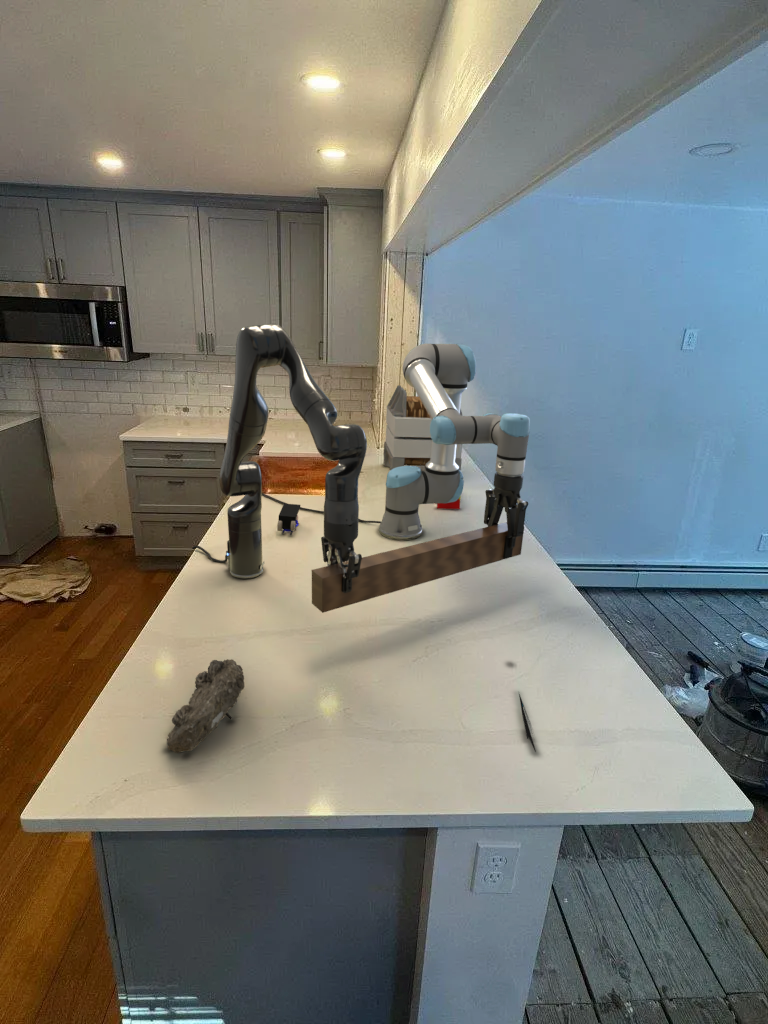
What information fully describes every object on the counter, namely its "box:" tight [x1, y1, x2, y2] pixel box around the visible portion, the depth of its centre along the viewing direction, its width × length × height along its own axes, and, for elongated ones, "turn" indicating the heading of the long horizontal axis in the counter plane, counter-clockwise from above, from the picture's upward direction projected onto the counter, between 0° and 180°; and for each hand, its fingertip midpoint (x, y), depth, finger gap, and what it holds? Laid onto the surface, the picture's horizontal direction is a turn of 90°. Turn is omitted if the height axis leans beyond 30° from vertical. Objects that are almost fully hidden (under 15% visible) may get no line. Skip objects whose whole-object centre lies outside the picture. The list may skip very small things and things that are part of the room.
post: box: [311, 521, 525, 613], centre depth 143 cm, size 64×5×8 cm, turn 125°
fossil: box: [166, 658, 245, 754], centre depth 106 cm, size 22×10×15 cm
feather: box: [517, 691, 537, 753], centre depth 115 cm, size 2×28×2 cm
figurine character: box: [276, 503, 301, 536], centre depth 198 cm, size 7×8×15 cm
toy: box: [436, 495, 462, 510], centre depth 238 cm, size 12×13×30 cm
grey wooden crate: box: [383, 384, 463, 472], centre depth 268 cm, size 34×33×41 cm
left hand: (340, 586), depth 128 cm, fingers closed on post, 5 cm apart
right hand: (499, 553), depth 158 cm, fingers closed on post, 5 cm apart
